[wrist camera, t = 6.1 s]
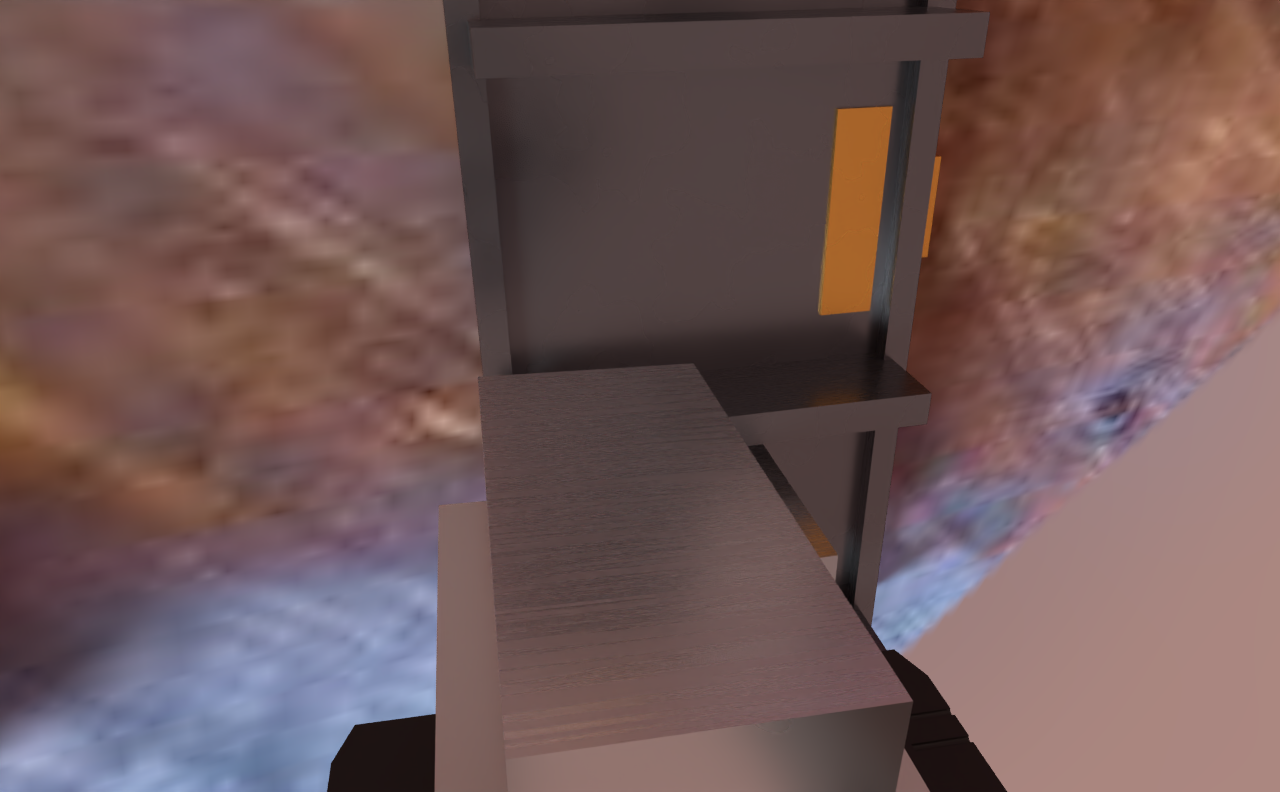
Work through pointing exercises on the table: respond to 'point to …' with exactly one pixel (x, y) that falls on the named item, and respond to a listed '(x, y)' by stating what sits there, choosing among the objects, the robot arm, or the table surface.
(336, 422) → the table surface
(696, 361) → the rack
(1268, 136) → the table surface
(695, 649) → the panel
